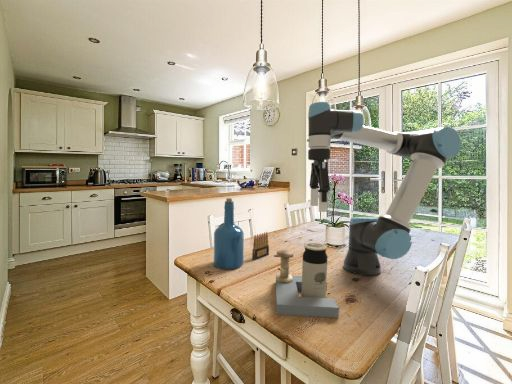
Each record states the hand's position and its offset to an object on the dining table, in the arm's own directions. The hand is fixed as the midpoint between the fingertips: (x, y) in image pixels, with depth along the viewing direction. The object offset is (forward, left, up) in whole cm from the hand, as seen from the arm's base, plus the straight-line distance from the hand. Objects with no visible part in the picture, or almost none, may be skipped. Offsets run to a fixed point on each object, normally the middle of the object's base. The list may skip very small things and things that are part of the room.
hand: (318, 208), depth 92 cm
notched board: (+5, +9, -29) cm, 31 cm away
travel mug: (+2, +8, -29) cm, 31 cm away
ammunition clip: (+21, -30, -29) cm, 47 cm away
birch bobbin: (+11, +2, -26) cm, 29 cm away
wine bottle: (+35, -18, -29) cm, 50 cm away
